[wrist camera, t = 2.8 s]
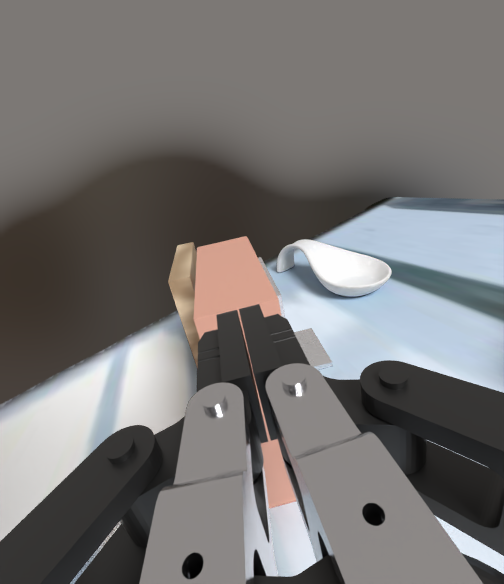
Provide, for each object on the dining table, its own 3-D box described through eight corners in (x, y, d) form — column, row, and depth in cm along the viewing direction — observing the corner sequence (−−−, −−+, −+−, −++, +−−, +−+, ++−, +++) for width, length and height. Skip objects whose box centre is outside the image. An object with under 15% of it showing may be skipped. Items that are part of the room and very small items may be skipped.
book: (254, 512, 25) (193, 319, 17) (237, 390, 38) (197, 247, 30) (313, 496, 25) (278, 298, 18) (276, 380, 38) (246, 236, 30)
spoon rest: (405, 283, 53) (405, 243, 50) (362, 314, 47) (360, 270, 44) (302, 260, 71) (298, 229, 68) (263, 281, 66) (256, 248, 62)
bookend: (290, 389, 36) (273, 296, 31) (269, 334, 47) (254, 258, 42) (339, 376, 36) (330, 283, 31) (307, 324, 47) (297, 248, 42)
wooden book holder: (211, 409, 36) (168, 281, 29) (208, 341, 48) (178, 241, 42) (296, 387, 36) (274, 256, 29) (272, 325, 49) (252, 224, 42)
